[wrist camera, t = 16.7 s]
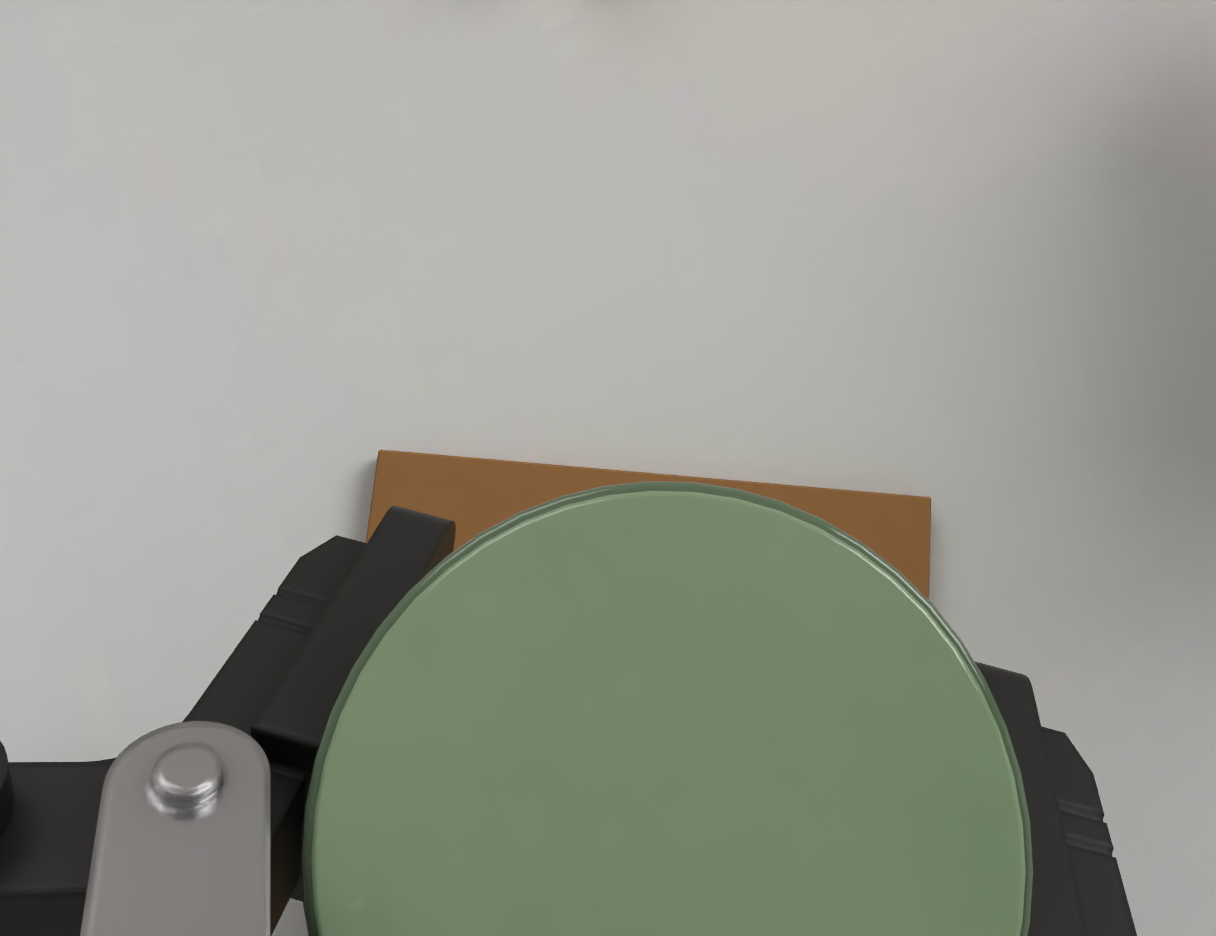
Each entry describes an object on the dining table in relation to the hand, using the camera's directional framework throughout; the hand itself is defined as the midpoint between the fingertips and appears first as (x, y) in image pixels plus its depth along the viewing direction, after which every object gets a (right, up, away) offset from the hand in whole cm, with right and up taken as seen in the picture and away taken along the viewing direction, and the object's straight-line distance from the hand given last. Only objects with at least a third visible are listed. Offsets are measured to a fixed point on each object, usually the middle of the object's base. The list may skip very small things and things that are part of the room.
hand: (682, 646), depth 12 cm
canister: (-1, -3, +6) cm, 7 cm away
